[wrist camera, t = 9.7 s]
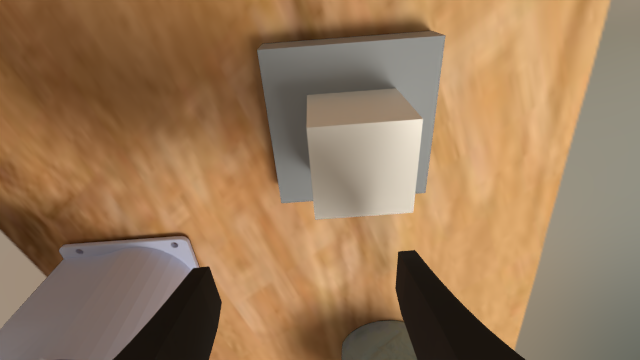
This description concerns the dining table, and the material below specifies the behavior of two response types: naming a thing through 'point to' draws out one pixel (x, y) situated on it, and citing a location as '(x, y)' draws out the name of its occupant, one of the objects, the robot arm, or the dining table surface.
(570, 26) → the dining table surface
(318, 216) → the cream colored cube
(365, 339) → the teal cup
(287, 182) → the stud block
